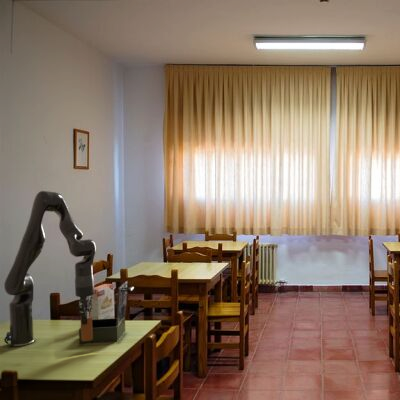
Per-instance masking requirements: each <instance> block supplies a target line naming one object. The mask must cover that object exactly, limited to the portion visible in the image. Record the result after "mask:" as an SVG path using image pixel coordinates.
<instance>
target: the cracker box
mask: <svg viewBox="0 0 400 400" xmlns="http://www.w3.org/2000/svg"><path fill="white" fill-rule="evenodd" d="M90 297H93V300H92V310H91V317H92V320H95V319H110V318H115V286H114V284H112V283H103V284H101V285H98V286H94V294H93V295H91V296H90Z"/></svg>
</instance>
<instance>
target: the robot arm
mask: <svg viewBox="0 0 400 400" xmlns="http://www.w3.org/2000/svg"><path fill="white" fill-rule="evenodd" d="M46 212H49V213H55V214H56V215H57V216H58V218H59V223H58V228H59V230H60V233H61V234H62V236H63V237H64V238H65V240H66V243H67V246H68V250H69V253H70V254H71V255H72V256H73V257H75V258H79V257H82V259H81V260H79V261H77V262H76V263H75V264H74V270H75V271H74V275H75V276H74V289H75V296H76V297H78V298H80V299H79V300H78V301H79V302H78V303H77V310H78V311H77V312H78V316H79V317H80V323H81V322H82V325H84V324H87V311H88V312H89V316H91V310H92V300H93V297H90V296H91V295H93V294H94V287H95V279H94V274H93V273H94V272H93V271H94V270H93V264H94V261H95V255H96V251H97V246H96V243H95V241H94V240H93V239H83V232H82V230H81V229H80V227H79V226H78V225H77V223H76V222H75V220H74V218H73V217H72V214H71V212H70V210H69V207H68V205H67V203H66V201H65V198H64V197H63V196H62V194H61V193H59V192H56V191H49V190H48V191H47V190H40V191H39V192H37V193H36V195H35V197H34V200H33V202H32V207H31V210H30V215H29V219H28V222H27V225H26V228H25V230H24V233H23V236H22V239H21V241H20V244H19V247H18V250H17V252H16V256H15V258H14V260H13V264H12V266H11V267H10V270H9V272H8V274H7V276H6V278H5V281H4V283H3V288H4V291H5V293H6V294H7V295H8V296H13V298H12V299H11V301H10V302H9V304H8V311H9V331H7V332H6V335H5V337H4V339H3V340H4V343H5V344H6V345H9V343H10V347H11V348H12V347H24V346H27V345H30V344H33V343H34V342H35V337H34V321H33V320H34V319H33V301H34V292H35V291H34V287H35V286H34V279H33V278H32V276H31V274H29V273H28V272H29V269H30V268H31V266H32V265H33V264H34V262H35V261H36V260H37V258H38V257H39V256H40V254H41V253H42V250H43V248H44V246H45V243H46V239H47V238H46V233H45V229H44V226H43V225H44V224H43V220H44V215H45V213H46Z"/></svg>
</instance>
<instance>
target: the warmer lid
mask: <svg viewBox="0 0 400 400" xmlns="http://www.w3.org/2000/svg"><path fill="white" fill-rule="evenodd" d="M134 289H135V287H134V286H130V287H129V286H128V280H127V281H126V280H125V282H123V283H121V285H120V286H118V288H117V301H116V317H115V318H116V326H118V325H119V324H120V323H121V321H122V320H123V319H124V318H125V319H126V314H127V295H128V293H129V294H130V293H131V292H132V291H134Z"/></svg>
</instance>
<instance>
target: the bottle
mask: <svg viewBox="0 0 400 400" xmlns="http://www.w3.org/2000/svg"><path fill="white" fill-rule="evenodd" d="M80 328H81V340H82V341H90V340H92V339H93V331H92V317H91V316H89V312H88V311H87V324H84V325H82V322H81V321H80Z"/></svg>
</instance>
